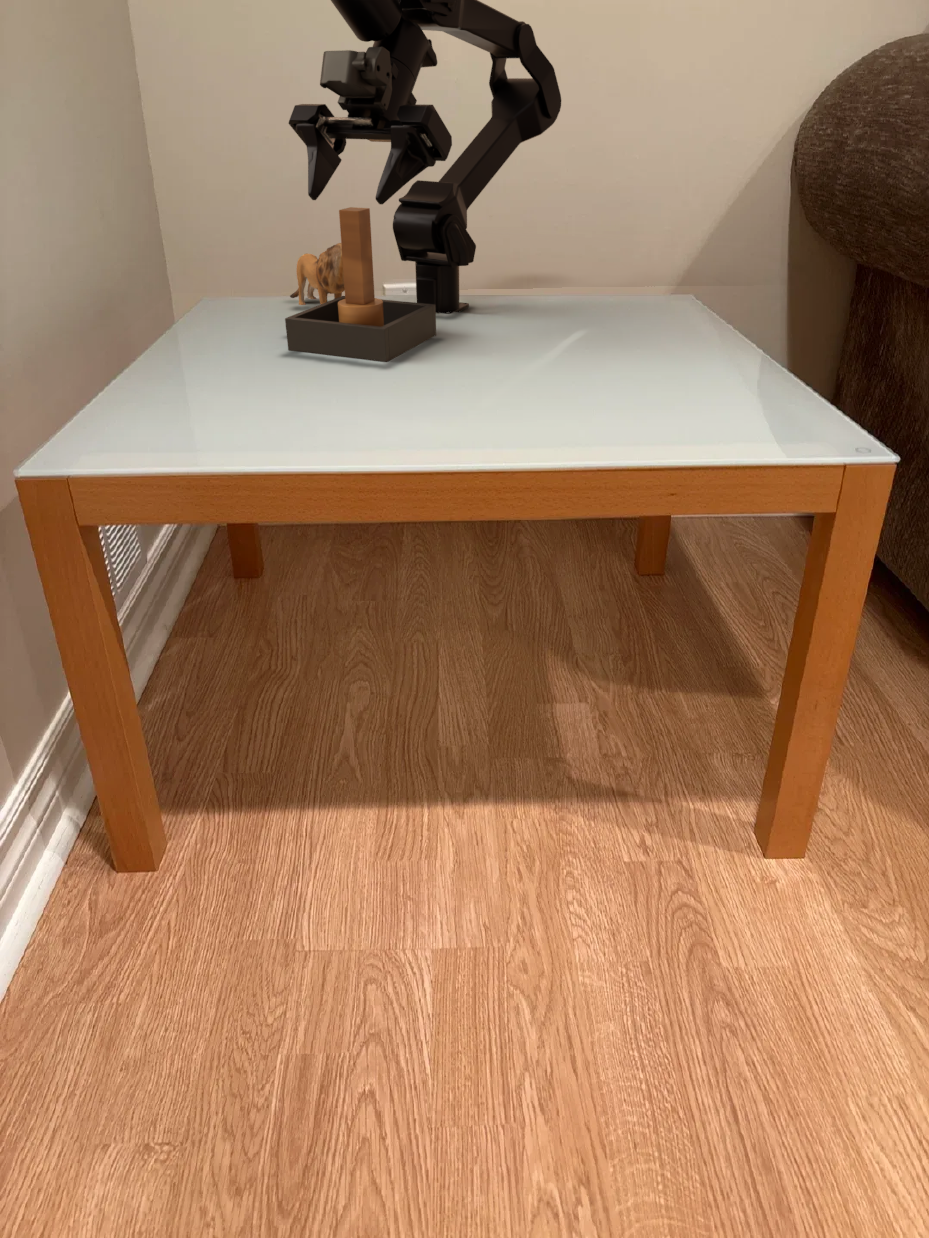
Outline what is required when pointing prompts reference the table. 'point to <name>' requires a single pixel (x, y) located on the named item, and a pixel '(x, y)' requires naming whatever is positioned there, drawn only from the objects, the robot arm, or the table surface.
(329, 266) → the lion figurine
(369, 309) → the wooden peg stand
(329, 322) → the box
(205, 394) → the table surface
